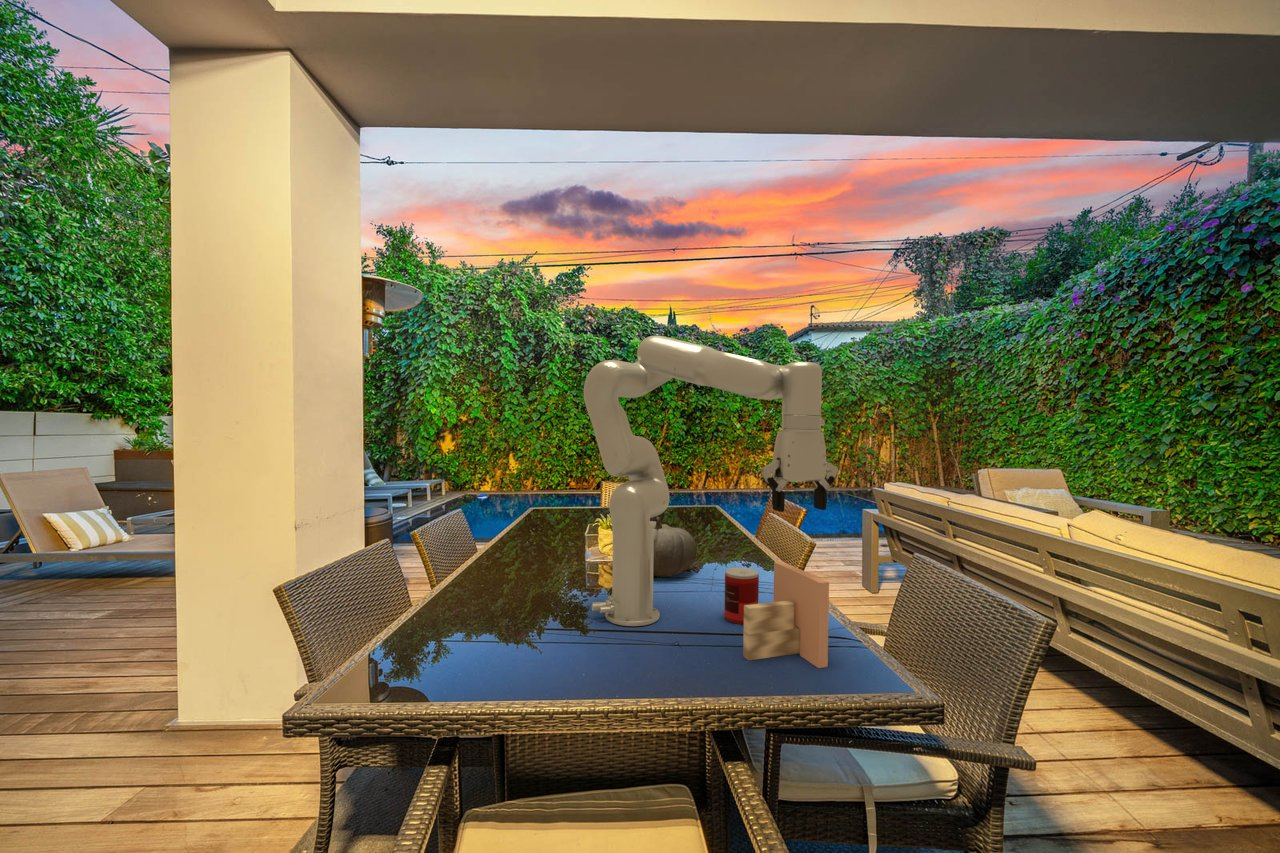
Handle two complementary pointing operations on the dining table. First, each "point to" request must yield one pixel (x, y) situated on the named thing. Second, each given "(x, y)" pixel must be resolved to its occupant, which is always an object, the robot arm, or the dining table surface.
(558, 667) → the dining table surface
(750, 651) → the oak board
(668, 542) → the gourd
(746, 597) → the canned food
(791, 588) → the terracotta plate
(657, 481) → the robot arm
